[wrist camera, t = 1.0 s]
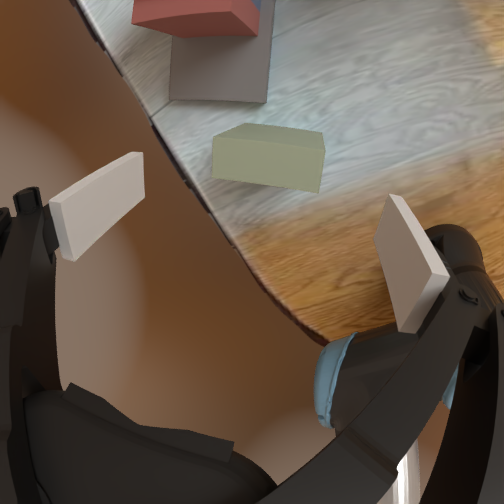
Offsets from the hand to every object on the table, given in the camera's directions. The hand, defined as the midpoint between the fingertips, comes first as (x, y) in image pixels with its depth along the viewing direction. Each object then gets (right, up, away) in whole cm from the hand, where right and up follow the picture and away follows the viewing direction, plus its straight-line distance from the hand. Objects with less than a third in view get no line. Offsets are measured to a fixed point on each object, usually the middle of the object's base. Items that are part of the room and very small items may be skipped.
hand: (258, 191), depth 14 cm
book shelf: (-4, +27, +14) cm, 30 cm away
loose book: (+4, +11, +21) cm, 25 cm away
